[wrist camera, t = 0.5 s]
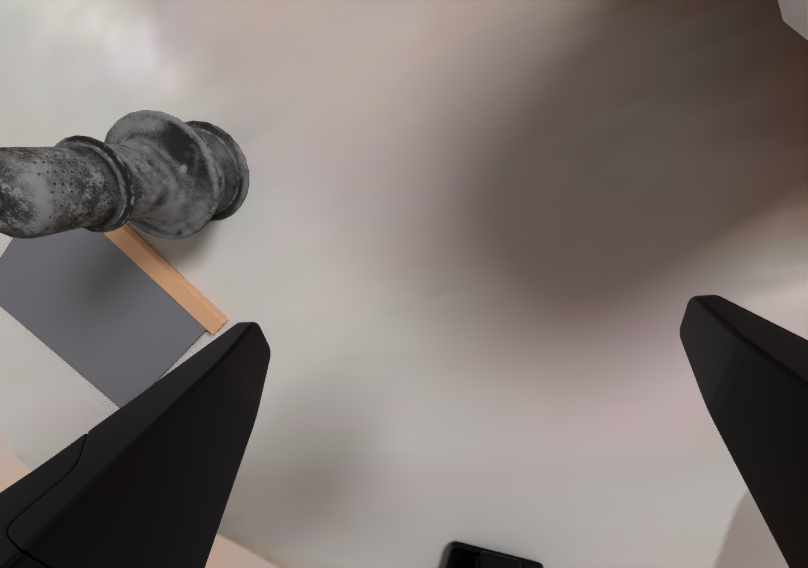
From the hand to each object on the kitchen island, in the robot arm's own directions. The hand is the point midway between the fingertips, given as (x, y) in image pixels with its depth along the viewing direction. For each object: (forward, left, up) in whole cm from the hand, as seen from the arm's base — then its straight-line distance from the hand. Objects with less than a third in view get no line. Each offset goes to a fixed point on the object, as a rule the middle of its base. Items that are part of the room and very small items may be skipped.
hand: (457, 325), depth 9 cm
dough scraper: (-10, +21, -14) cm, 27 cm away
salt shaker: (0, +14, -14) cm, 20 cm away
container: (+17, -16, -14) cm, 27 cm away
